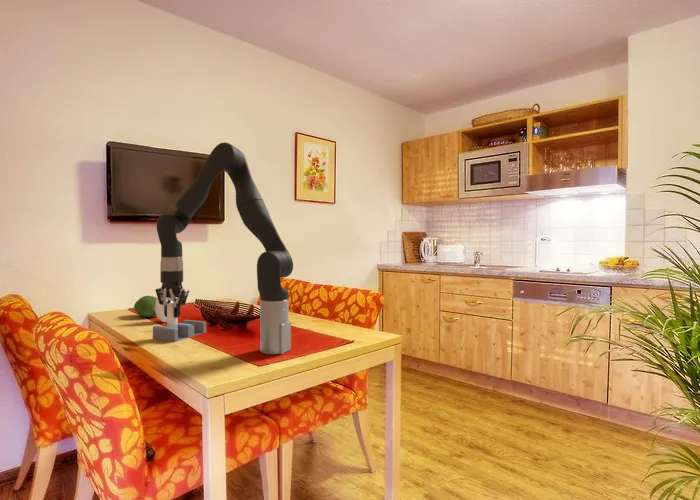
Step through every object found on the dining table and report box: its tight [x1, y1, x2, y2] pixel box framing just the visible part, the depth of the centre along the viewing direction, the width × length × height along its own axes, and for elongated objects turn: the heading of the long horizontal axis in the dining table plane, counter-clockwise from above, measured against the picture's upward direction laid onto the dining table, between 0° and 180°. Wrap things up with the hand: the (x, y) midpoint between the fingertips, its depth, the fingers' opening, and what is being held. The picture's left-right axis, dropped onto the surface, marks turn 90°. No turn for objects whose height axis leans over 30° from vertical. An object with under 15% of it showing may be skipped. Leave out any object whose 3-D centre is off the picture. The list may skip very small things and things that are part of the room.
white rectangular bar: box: [166, 303, 179, 328], centre depth 145 cm, size 4×4×11 cm
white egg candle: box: [155, 297, 173, 323], centre depth 176 cm, size 8×8×18 cm
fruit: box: [133, 295, 157, 318], centre depth 187 cm, size 15×10×10 cm, turn 54°
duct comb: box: [152, 319, 207, 343], centre depth 148 cm, size 10×16×6 cm, turn 160°
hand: (172, 316), depth 144 cm, fingers closed on white rectangular bar, 3 cm apart
